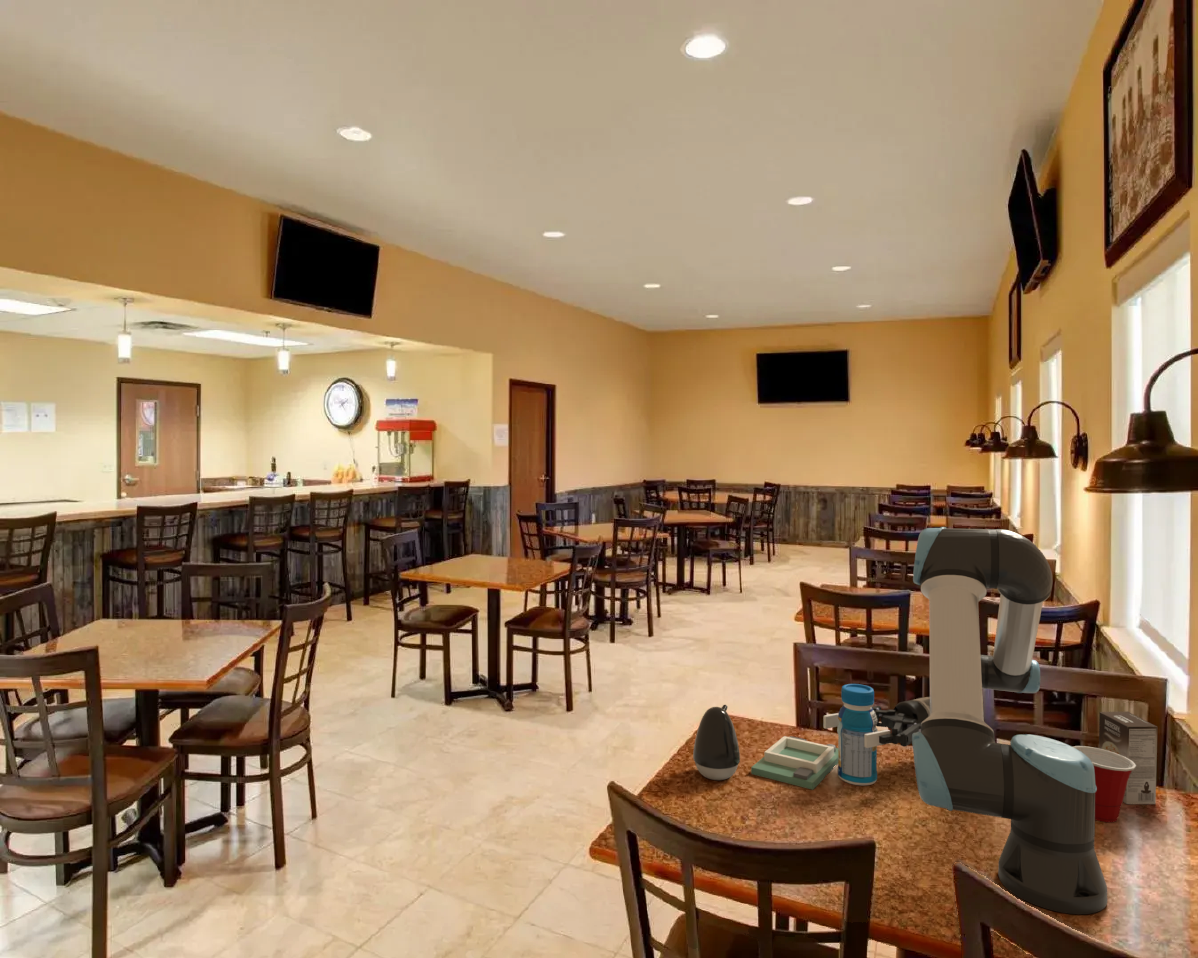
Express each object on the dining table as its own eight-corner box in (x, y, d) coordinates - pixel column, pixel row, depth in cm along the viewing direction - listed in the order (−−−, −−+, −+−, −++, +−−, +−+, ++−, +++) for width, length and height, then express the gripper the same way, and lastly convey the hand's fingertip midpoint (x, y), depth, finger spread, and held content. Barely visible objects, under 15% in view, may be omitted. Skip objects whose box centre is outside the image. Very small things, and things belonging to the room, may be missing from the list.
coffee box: (1096, 785, 159) (1097, 710, 158) (1126, 785, 159) (1127, 710, 158) (1126, 804, 150) (1127, 725, 149) (1158, 804, 149) (1159, 725, 149)
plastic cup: (1146, 831, 139) (1147, 768, 138) (1082, 826, 141) (1083, 763, 141) (1118, 805, 149) (1119, 746, 149) (1059, 800, 151) (1060, 742, 151)
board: (813, 789, 157) (813, 773, 157) (751, 773, 165) (751, 758, 165) (845, 755, 175) (845, 741, 175) (787, 743, 183) (788, 728, 183)
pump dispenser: (747, 771, 166) (747, 704, 166) (729, 789, 157) (729, 718, 157) (705, 762, 172) (705, 696, 171) (685, 778, 163) (685, 709, 162)
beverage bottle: (851, 789, 157) (852, 695, 157) (829, 772, 165) (829, 683, 165) (886, 784, 159) (886, 691, 159) (862, 768, 168) (862, 680, 167)
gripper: (962, 751, 159) (886, 769, 150) (877, 716, 181) (807, 730, 172) (963, 716, 159) (887, 732, 150) (877, 686, 180) (807, 698, 171)
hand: (844, 731), depth 161 cm, fingers open, 12 cm apart
